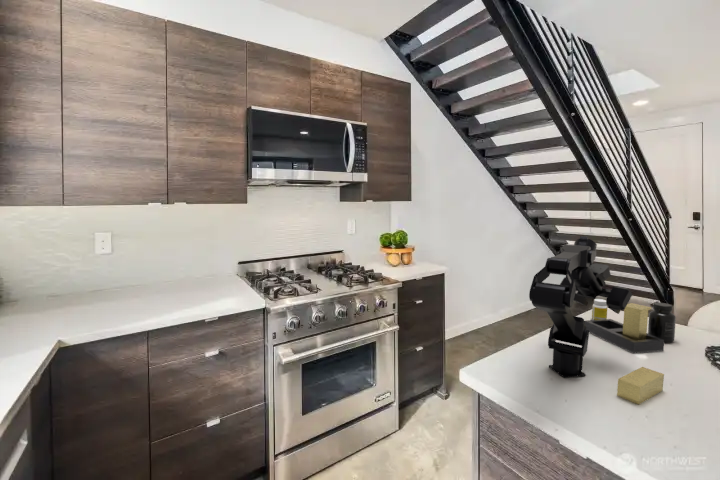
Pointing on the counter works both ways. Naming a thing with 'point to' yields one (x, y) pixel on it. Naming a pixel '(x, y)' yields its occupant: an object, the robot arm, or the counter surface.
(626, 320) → the brass block
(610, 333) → the compartment tray
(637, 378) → the block
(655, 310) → the supplement bottle
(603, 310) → the supplement bottle
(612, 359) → the counter surface
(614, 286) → the robot arm
